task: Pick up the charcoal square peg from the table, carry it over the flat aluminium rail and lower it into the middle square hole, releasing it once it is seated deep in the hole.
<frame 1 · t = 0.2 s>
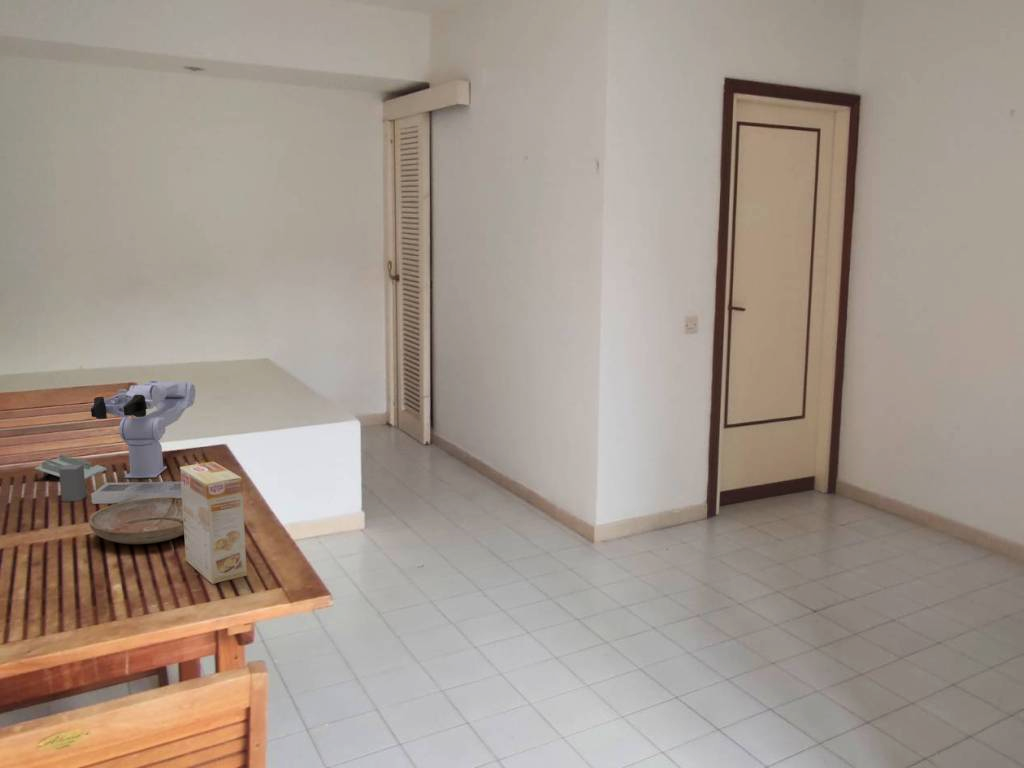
hand: (109, 412, 203), 21 cm above the table, tool horizontal, fingers open, 7 cm apart
metal bracket: (69, 478, 224), on the table
square peg: (74, 498, 205), on the table
coffeecake box: (216, 569, 164), on the table
ceramic bowl: (151, 535, 182), on the table
hole rail: (150, 497, 207), on the table
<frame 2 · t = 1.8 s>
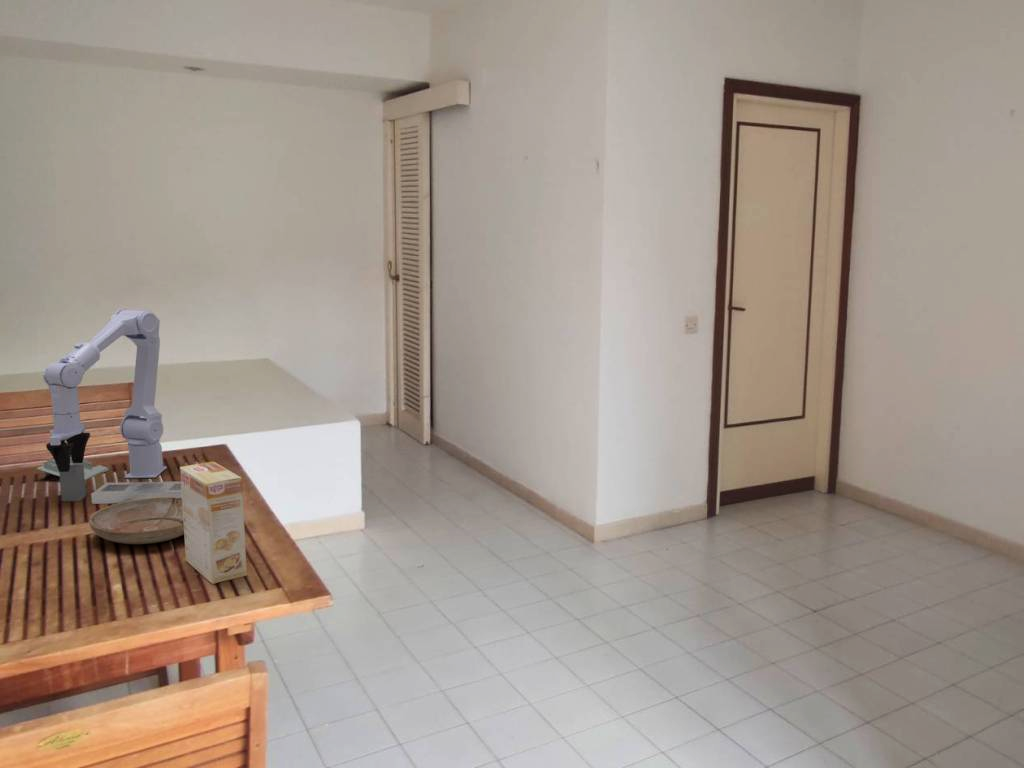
hand: (71, 467, 204), 8 cm above the table, tool pointing down, fingers open, 7 cm apart
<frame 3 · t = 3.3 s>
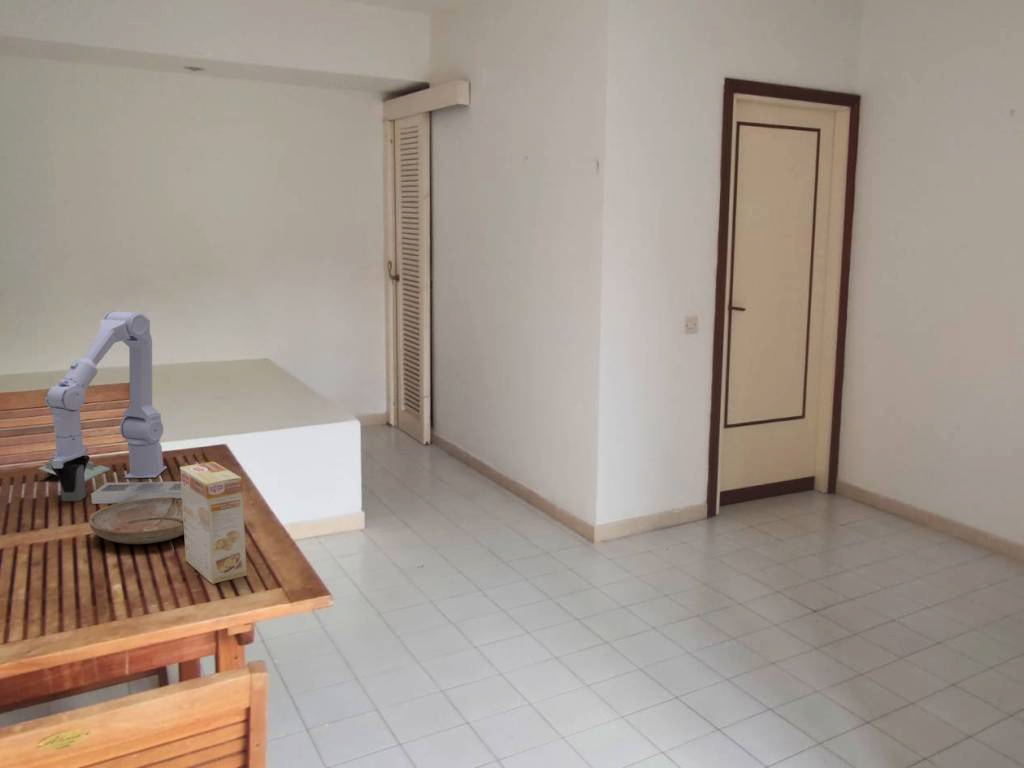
hand: (73, 489, 205), 2 cm above the table, tool pointing down, fingers closed on square peg, 4 cm apart
square peg: (74, 498, 205), on the table, touching gripper
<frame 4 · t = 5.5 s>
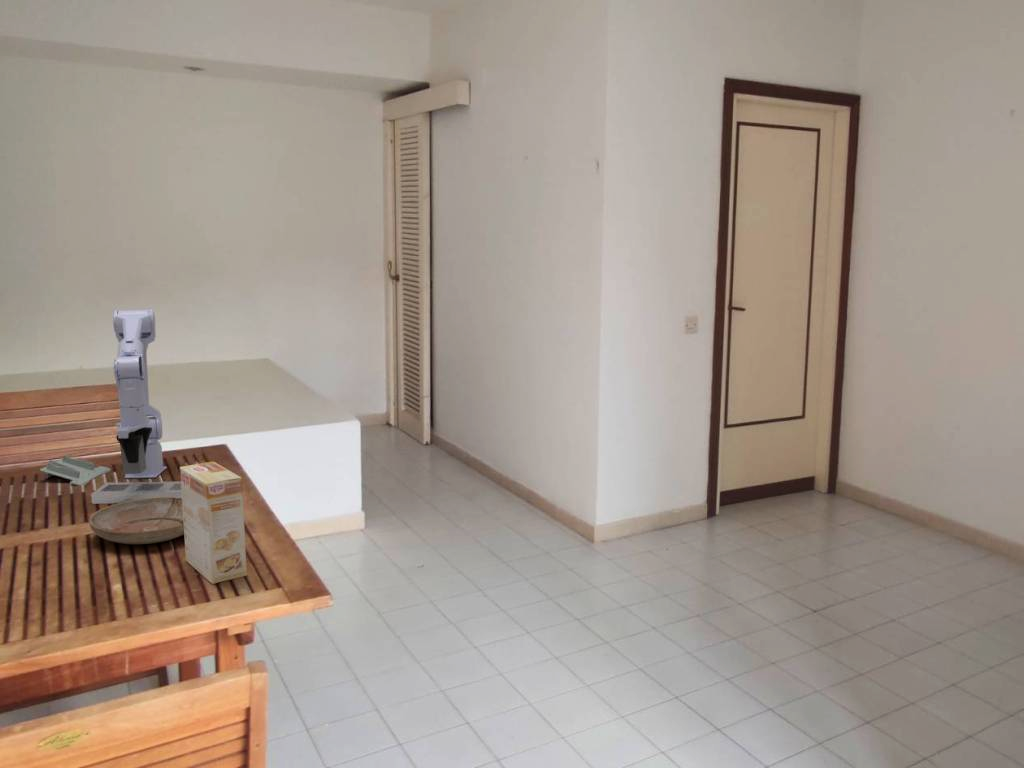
hand: (136, 460, 205), 9 cm above the table, tool pointing down, fingers closed on square peg, 4 cm apart
square peg: (135, 471, 205), point 7 cm above the table, touching gripper
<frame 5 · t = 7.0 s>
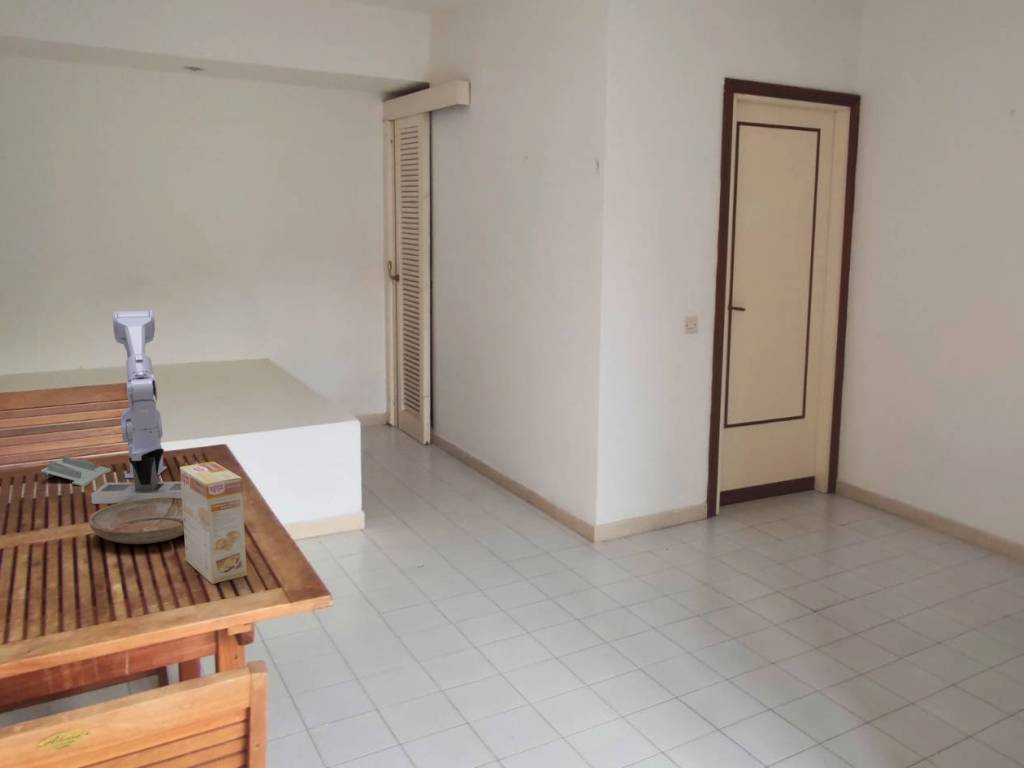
hand: (148, 481, 206), 4 cm above the table, tool pointing down, fingers closed on square peg, 4 cm apart
square peg: (147, 492, 207), point 1 cm above the table, touching gripper
when the fingers open (3 cm above the table, at t = 8.1 s): square peg stays where it is, resting in hole rail.
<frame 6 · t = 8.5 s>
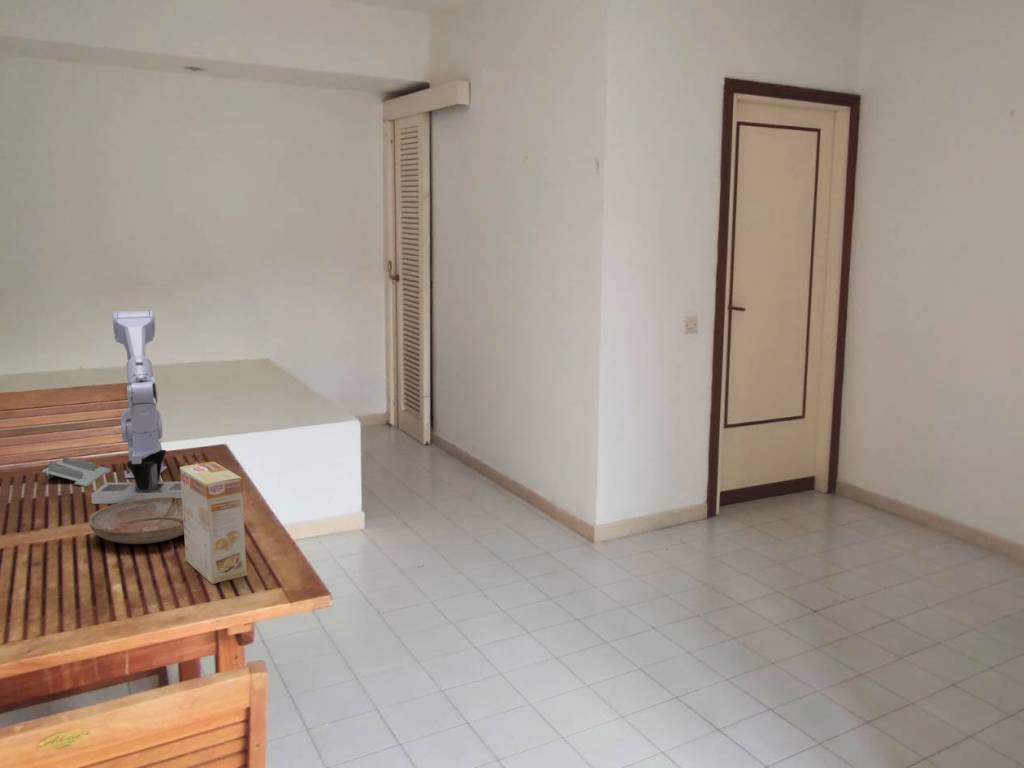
hand: (149, 484, 206), 3 cm above the table, tool pointing down, fingers open, 7 cm apart
square peg: (147, 497, 207), resting in hole rail
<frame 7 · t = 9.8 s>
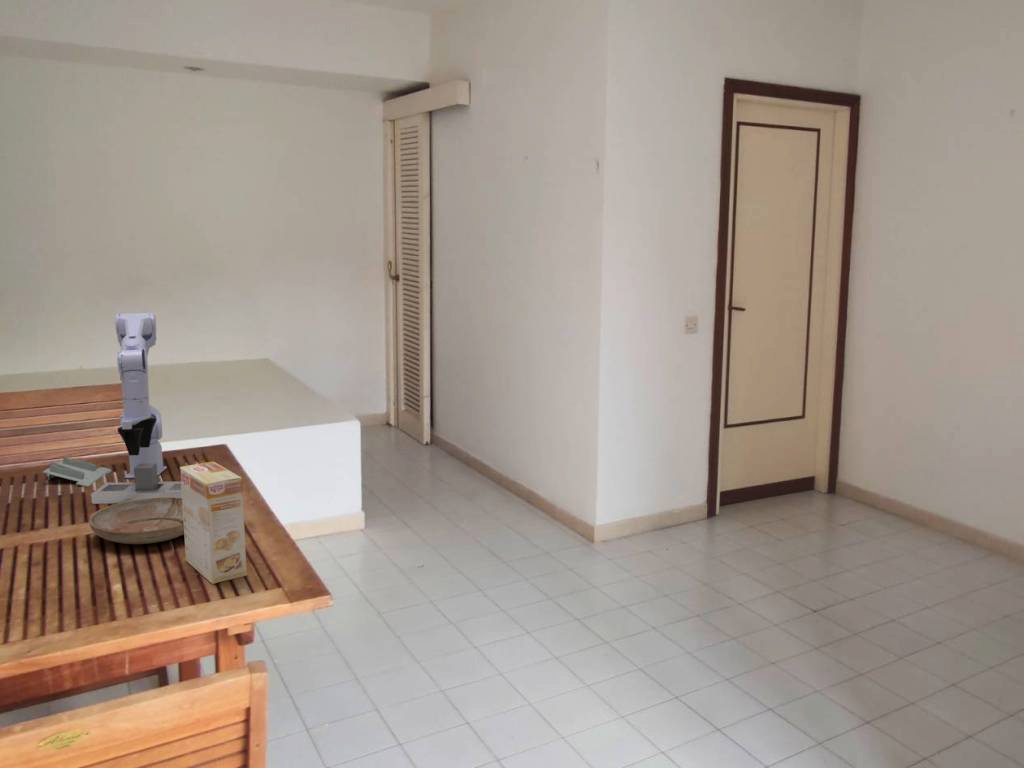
hand: (139, 451, 210), 10 cm above the table, tool pointing down, fingers open, 7 cm apart
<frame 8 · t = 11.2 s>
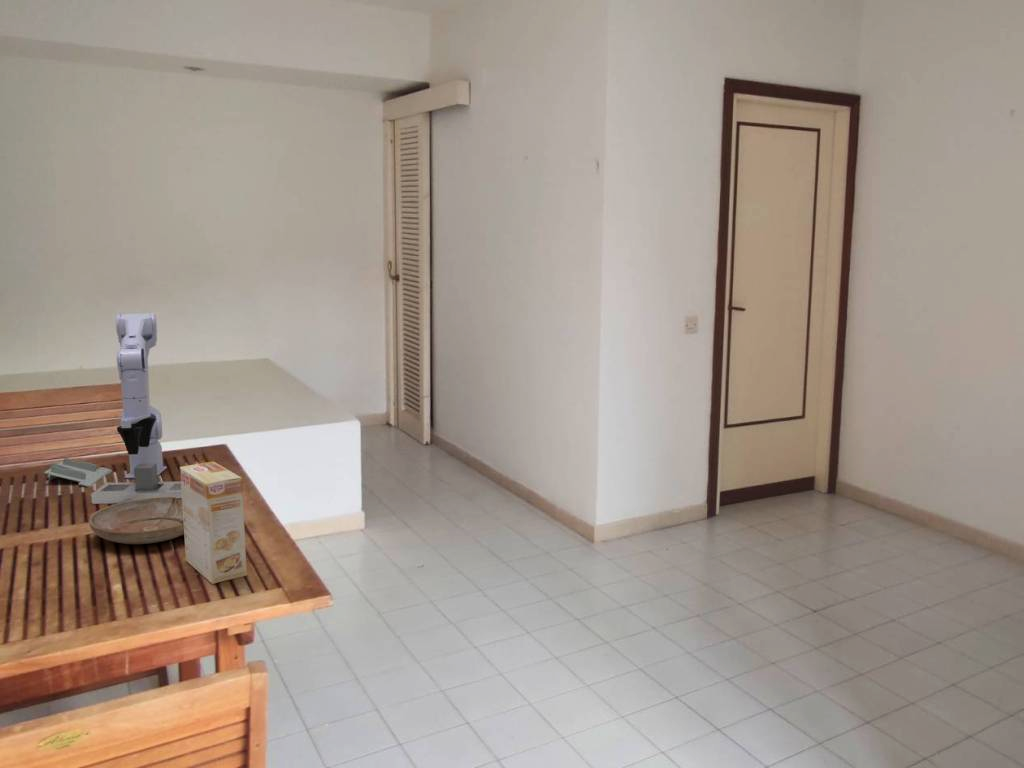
hand: (138, 450, 210), 10 cm above the table, tool pointing down, fingers open, 7 cm apart
at the end: square peg 0.6 cm off-centre on the hole rail, point 0.0 cm above the hole rail's base; square peg tilted 0°; the gripper is holding nothing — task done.
